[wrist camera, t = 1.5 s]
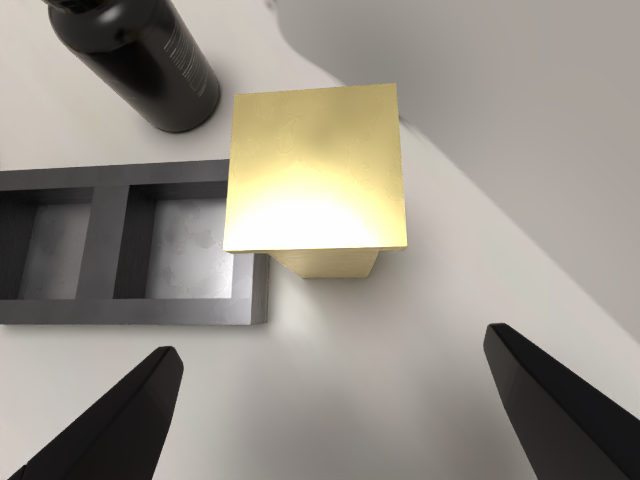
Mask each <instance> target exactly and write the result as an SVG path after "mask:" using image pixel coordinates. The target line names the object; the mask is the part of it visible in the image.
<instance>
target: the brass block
mask: <svg viewBox="0 0 640 480" xmlns="http://www.w3.org/2000/svg"><path fill="white" fill-rule="evenodd" d="M406 247H407V235H406V220H405V206H404V191H403V177H402V162H401V148H400V133H399V119H398V104H397V90H396V83H390V84H376V85H361V86H348V87H334V88H320V89H306V90H293V91H279V92H265V93H251V94H238V95H234V108H233V122H232V136H231V150H230V164H229V178H228V193H227V207H226V221H225V235H224V249H223V250H224V251H226V252H228V253H230V254H253V253H268V254H269V255H270V256H272V257H273V258H275V259H276V260H277V261H279V262H280V263H282V264H283V265H285V266H286V267H287V268H289V269H290V270H292V271H293V272H294V273H296V274H297V275H299V276H300V277H301V278H365V277H368V276H369V273H370V271H371V269H372V267H373V264H374V262H375V260H376V258H377V255H378V253H379V251H391V250H404V249H405V248H406Z"/></svg>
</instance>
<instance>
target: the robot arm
mask: <svg viewBox="0 0 640 480" xmlns="http://www.w3.org/2000/svg"><path fill="white" fill-rule="evenodd" d="M483 347H484V352H485V355H486V358H487V361H488V364H489V366H490V369H491V372H492V375H493V378H494V381H495V383H496V386H497V389H498V392H499V395H500V398H501V400H502V403H503V406H504V408H505V410H506V413H507V415H508V417H509V419H510V421H511V424H512V426H513V428H514V430H515V432H516V434H517V436H518V438H519V440H520V443H521V445H522V447H523V449H524V451H525V453H526V455H527V457H528V460H529V462H530V464H531V466H532V468H533V470H534V472H535V474H536V476H537V479H538V480H640V420H639V419H637V418H636V417H635V416H633V415H632V414H630V413H629V412H628V411H626V410H625V409H624V408H622V407H621V406H619V405H618V404H617V403H615V402H614V401H612V400H611V399H610V398H608V397H607V396H606V395H604V394H603V393H601V392H600V391H599V390H597V389H596V388H594V387H593V386H592V385H590V384H589V383H588V382H586V381H585V380H583V379H582V378H581V377H579V376H578V375H577V374H575V373H574V372H572V371H571V370H570V369H568V368H567V367H565V366H564V365H563V364H561V363H560V362H559V361H557V360H556V359H554V358H553V357H552V356H550V355H549V354H548V353H546V352H545V351H543V350H542V349H541V348H539V347H538V346H536V345H535V344H534V343H532V342H531V341H530V340H528V339H527V338H525V337H524V336H523V335H521V334H520V333H519V332H517V331H516V330H514V329H513V328H512V327H510V326H509V325H507V324H505V323H492V324H489V325H488V326H487V330H486V334H485V339H484V344H483ZM183 370H184V366H183V362H182V360H181V358H180V357H179V355H178V353H177V351H176V349H175V348H174V347H173V346H163V347H158V348H157V349H155V350H154V351H153V352H152V353H151V354H150V355H149V356H147V357H146V358H145V359H144V360H143V361H142V362H141V363H139V364H138V365H137V366H136V367H135V368H134V369H133V370H132V371H130V372H129V373H128V374H127V375H126V376H125V377H124V378H122V379H121V380H120V381H119V382H118V383H117V384H116V385H114V386H113V387H112V388H111V389H110V390H109V391H108V392H107V393H105V394H104V395H103V396H102V397H101V398H100V399H99V400H97V401H96V402H95V403H94V404H93V405H92V406H91V407H89V408H88V409H87V410H86V411H85V412H84V413H83V414H82V415H80V416H79V417H78V418H77V419H76V420H75V421H74V422H72V423H71V424H70V425H69V426H68V427H67V428H66V429H64V430H63V431H62V432H61V433H60V434H59V435H58V436H57V437H55V438H54V439H53V440H52V441H51V442H50V443H49V444H47V445H46V446H45V447H44V448H43V449H42V450H41V451H39V452H38V453H37V454H36V455H35V456H34V457H33V458H31V459H30V460H29V461H28V463H27V465H23V466H22V467H21V468H20V469H19V470H18V471H17V472H15V473H14V474H13V475H12V476H11V477H10V478H9V479H7V480H152V477H153V474H154V472H155V469H156V466H157V463H158V460H159V457H160V454H161V451H162V448H163V445H164V442H165V439H166V437H167V434H168V431H169V427H170V424H171V421H172V417H173V413H174V409H175V404H176V400H177V396H178V392H179V388H180V383H181V379H182V375H183Z"/></svg>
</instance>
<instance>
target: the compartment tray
mask: <svg viewBox="0 0 640 480" xmlns="http://www.w3.org/2000/svg"><path fill="white" fill-rule="evenodd" d="M229 164H230V159H224V160H205V161H186V162H167V163H147V164H128V165H109V166H90V167H71V168H52V169H32V170H13V171H0V324H174V325H251V324H260V323H267V298H268V271H269V254H268V253H253V254H230V253H228V252H226V251H224V250H223V249H224V235H225V221H226V207H227V193H228V178H229Z"/></svg>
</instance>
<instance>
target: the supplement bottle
mask: <svg viewBox="0 0 640 480" xmlns="http://www.w3.org/2000/svg"><path fill="white" fill-rule="evenodd" d="M42 1H43V2H44V3H46V4H48V15H49V19H50V23H51V25H52V28H53V30H54V32H55V34H56V35H57V37H58V38H59V40H60V41H61V42H62V43H63V44H64V45H65V46H66V47H67V48H68V49H69V50H70V51H71V52H72V53H73V54H74V55H75V56H76V57H77V58H79V59H80V60H81V61H82V62H83V63H84V64H85V65H86V66H87V67H88V68H90V69H91V70H92V71H93V72H94V73H95V74H96V75H97V76H98V77H99V78H101V79H102V80H103V81H104V82H105V83H106V84H107V85H108V86H109V87H110V88H112V89H113V90H114V91H115V92H116V93H117V94H118V95H119V96H120V97H122V98H123V99H124V100H125V101H126V102H127V103H128V104H129V105H130V106H131V107H133V108H134V109H135V110H136V111H137V112H138V113H139V114H140V115H141V116H143V117H144V118H145V119H146V120H147V121H148V122H149V123H151V124H152V125H154V126H155V127H157V128H159V129H162V130H165V131H171V132H177V131H184V130H188V129H191V128H193V127H195V126H197V125H198V124H200V123H201V122H203V121H204V120H205V119H206V118H207V117H208V116H209V115H210V113H211V112H212V111H213V109H214V107H215V105H216V102H217V99H218V92H219V87H218V82H217V78H216V76H215V74H214V72H213V70H212V69H211V67H210V65H209V63H208V62H207V60H206V58H205V57H204V55H203V53H202V52H201V50H200V48H199V47H198V45H197V43H196V42H195V40H194V38H193V37H192V35H191V33H190V32H189V30H188V28H187V27H186V25H185V23H184V21H183V20H182V18H181V16H180V15H179V13H178V11H177V10H176V8H175V6H174V5H173V3H172V1H171V0H42Z"/></svg>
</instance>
